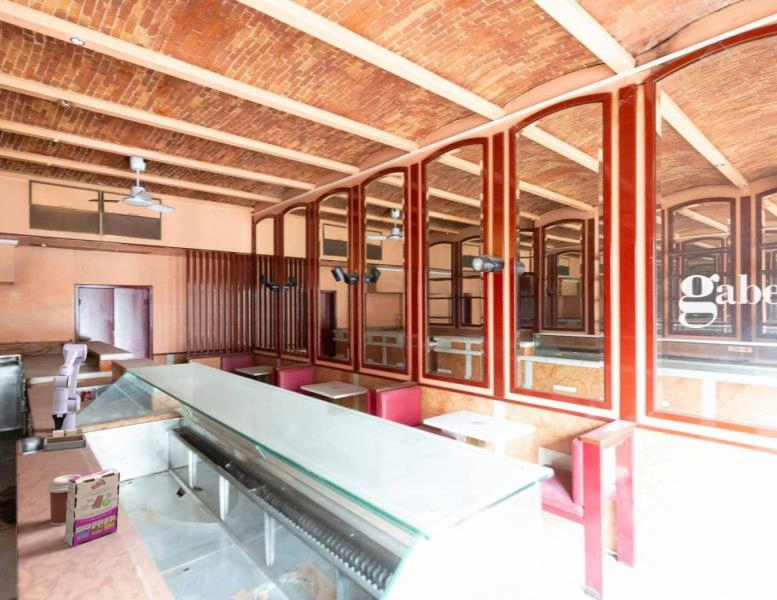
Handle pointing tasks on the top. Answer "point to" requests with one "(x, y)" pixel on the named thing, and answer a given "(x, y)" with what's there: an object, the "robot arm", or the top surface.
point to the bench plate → (63, 437)
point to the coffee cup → (59, 499)
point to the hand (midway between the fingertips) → (58, 429)
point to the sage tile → (71, 432)
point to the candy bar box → (92, 506)
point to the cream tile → (58, 433)
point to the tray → (64, 445)
